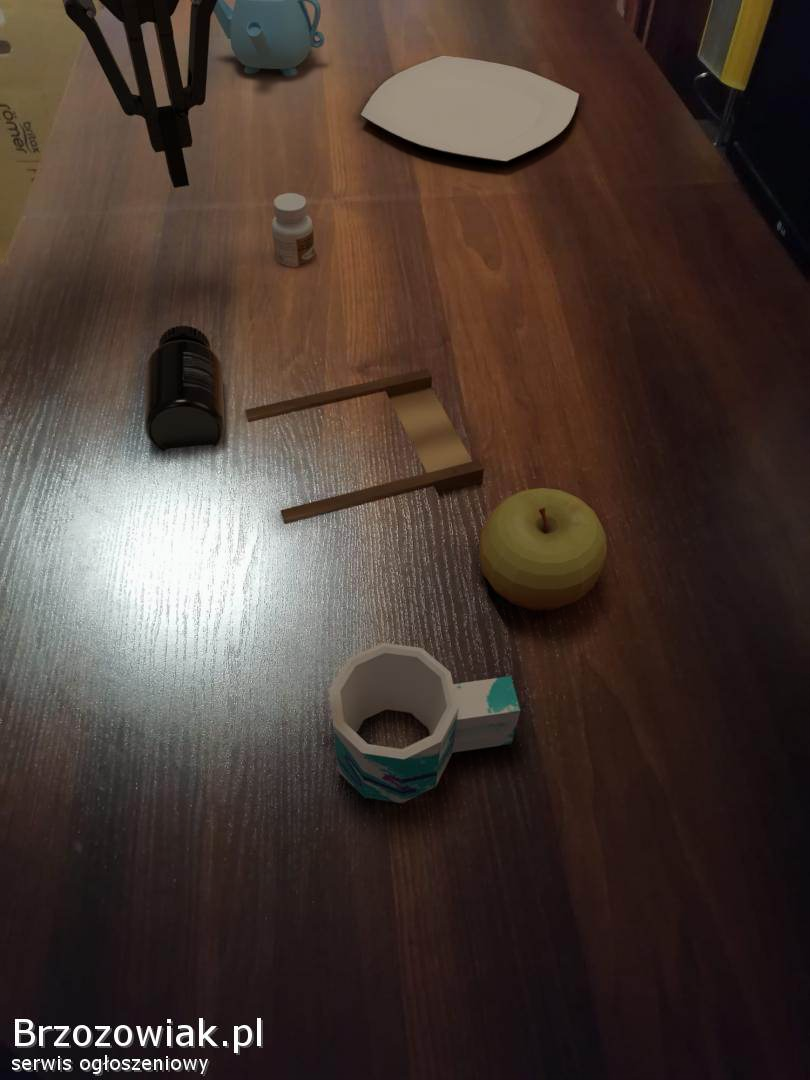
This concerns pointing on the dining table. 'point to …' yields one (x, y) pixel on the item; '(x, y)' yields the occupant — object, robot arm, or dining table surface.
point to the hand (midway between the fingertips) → (179, 179)
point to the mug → (428, 694)
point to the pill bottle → (292, 231)
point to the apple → (542, 549)
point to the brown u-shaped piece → (422, 426)
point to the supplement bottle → (184, 392)
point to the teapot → (270, 32)
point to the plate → (472, 108)
